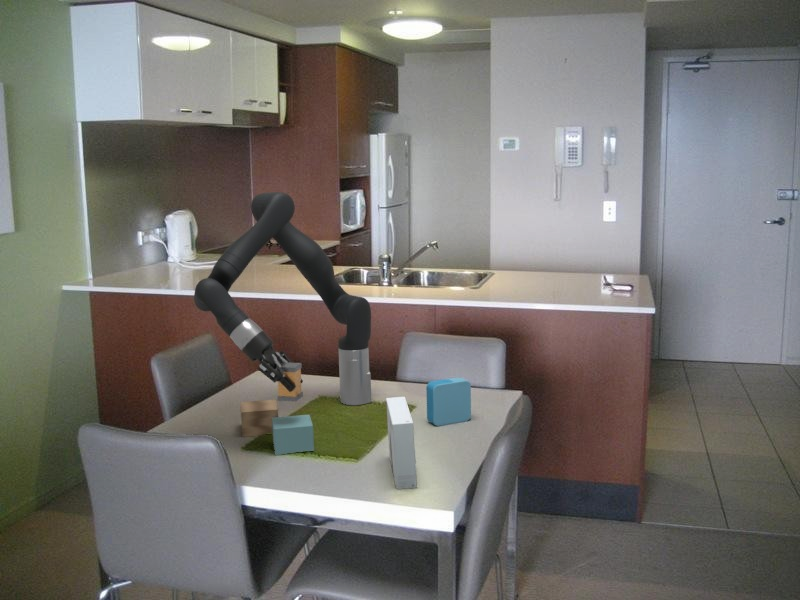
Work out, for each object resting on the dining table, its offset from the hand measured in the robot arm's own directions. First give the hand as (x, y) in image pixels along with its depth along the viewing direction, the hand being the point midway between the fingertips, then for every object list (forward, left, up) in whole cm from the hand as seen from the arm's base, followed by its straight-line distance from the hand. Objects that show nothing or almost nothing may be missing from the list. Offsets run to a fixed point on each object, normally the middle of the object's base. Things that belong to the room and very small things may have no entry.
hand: (296, 386), depth 222 cm
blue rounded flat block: (-43, -11, -17) cm, 48 cm away
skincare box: (-22, +24, -17) cm, 37 cm away
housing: (+2, -1, -3) cm, 4 cm away
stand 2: (+2, -1, -17) cm, 17 cm away
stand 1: (+10, -18, -17) cm, 26 cm away
